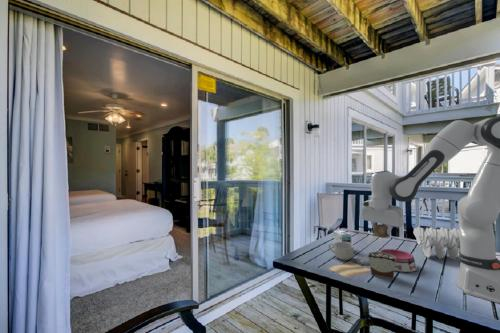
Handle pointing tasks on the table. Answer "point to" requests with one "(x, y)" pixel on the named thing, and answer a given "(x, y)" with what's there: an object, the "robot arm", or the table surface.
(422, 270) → the table surface
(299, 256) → the table surface
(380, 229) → the walnut block
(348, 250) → the teacup
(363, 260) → the grey rounded dome
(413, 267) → the dog bowl
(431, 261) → the table surface
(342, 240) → the light bulb box
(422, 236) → the spiral staircase
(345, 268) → the oak board
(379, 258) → the food container
